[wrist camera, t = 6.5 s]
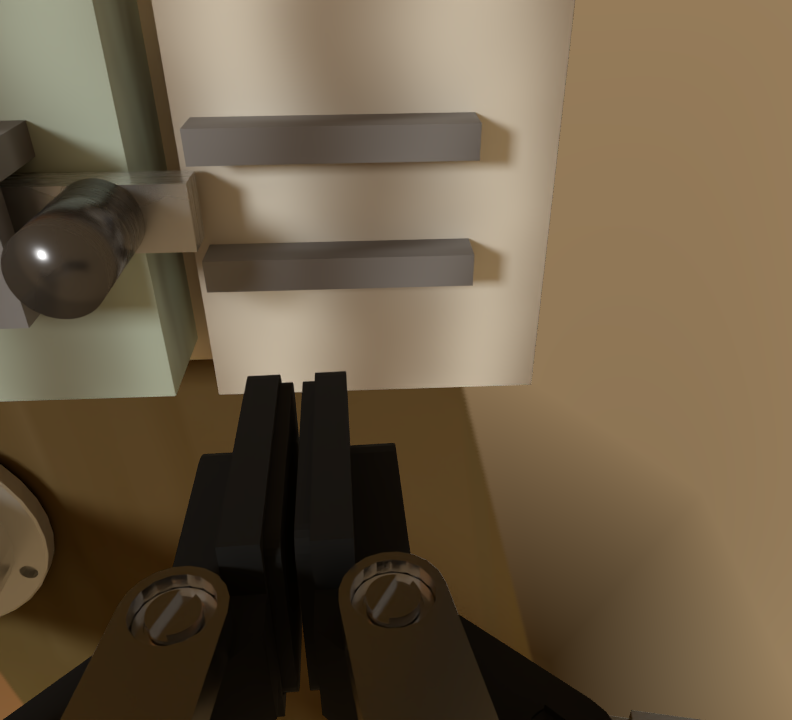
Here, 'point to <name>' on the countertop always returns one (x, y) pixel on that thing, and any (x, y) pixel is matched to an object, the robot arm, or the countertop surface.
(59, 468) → the countertop surface
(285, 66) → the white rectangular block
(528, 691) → the robot arm
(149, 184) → the bolt
